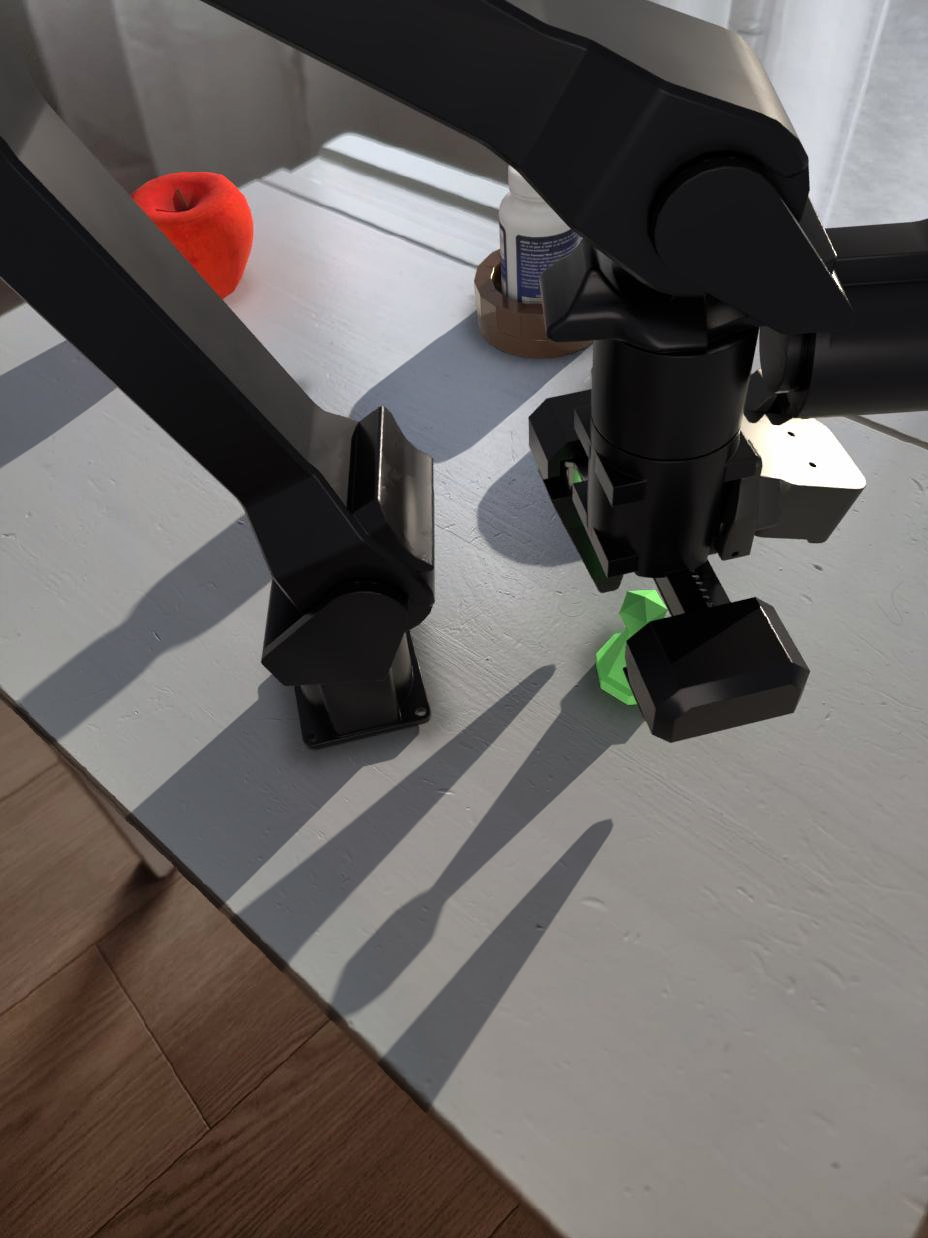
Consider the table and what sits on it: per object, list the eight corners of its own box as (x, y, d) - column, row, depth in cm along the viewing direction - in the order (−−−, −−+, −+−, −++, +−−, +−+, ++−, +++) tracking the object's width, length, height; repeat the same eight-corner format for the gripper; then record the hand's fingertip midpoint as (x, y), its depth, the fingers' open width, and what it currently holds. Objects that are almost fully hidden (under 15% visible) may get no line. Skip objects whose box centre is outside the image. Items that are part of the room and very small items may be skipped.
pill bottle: (596, 299, 69) (601, 161, 62) (542, 334, 67) (541, 195, 60) (540, 271, 72) (539, 135, 64) (486, 303, 70) (479, 167, 62)
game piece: (696, 684, 50) (711, 609, 46) (623, 719, 49) (631, 646, 45) (648, 626, 53) (658, 549, 48) (578, 658, 52) (581, 583, 47)
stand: (625, 343, 68) (628, 298, 66) (496, 369, 68) (493, 325, 65) (584, 272, 74) (585, 228, 71) (464, 295, 73) (461, 252, 71)
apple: (287, 267, 77) (265, 169, 71) (227, 332, 72) (198, 232, 66) (191, 249, 80) (162, 152, 74) (127, 310, 75) (90, 212, 69)
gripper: (998, 536, 33) (877, 775, 45) (762, 246, 45) (717, 498, 57) (678, 610, 32) (642, 834, 44) (522, 293, 43) (528, 539, 56)
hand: (637, 656), depth 50 cm, fingers open, 9 cm apart
